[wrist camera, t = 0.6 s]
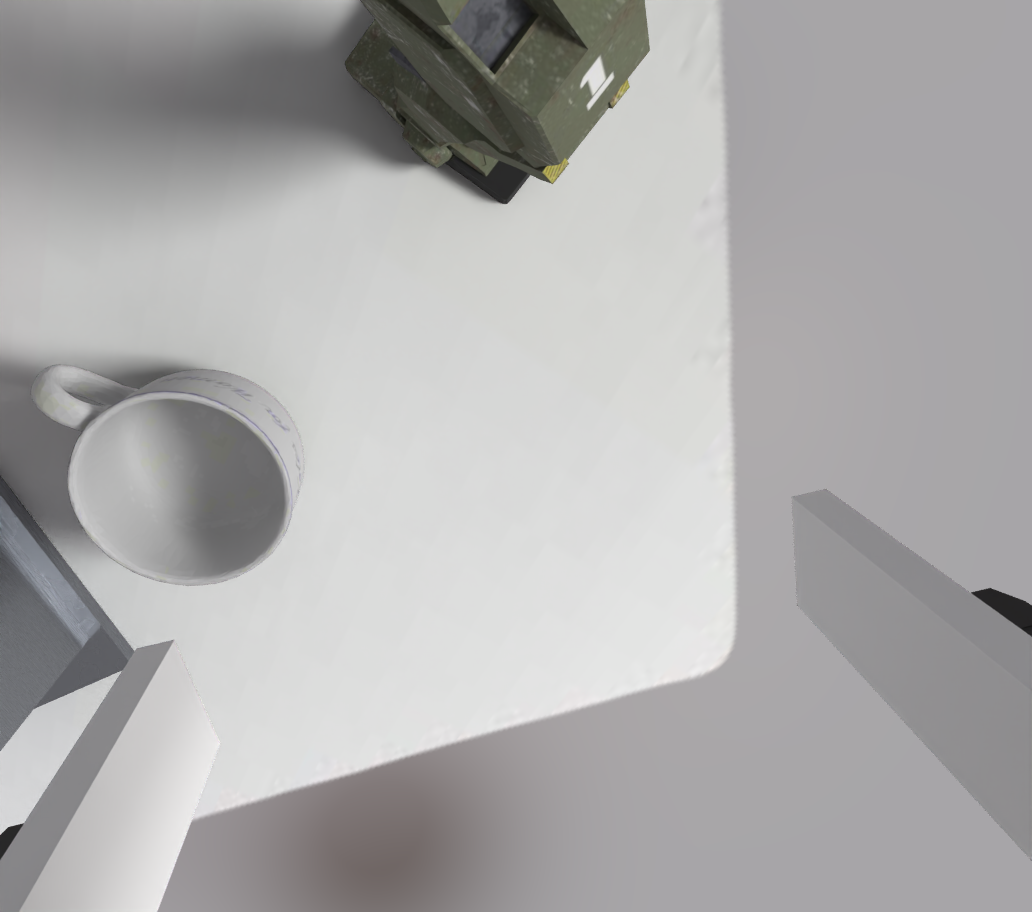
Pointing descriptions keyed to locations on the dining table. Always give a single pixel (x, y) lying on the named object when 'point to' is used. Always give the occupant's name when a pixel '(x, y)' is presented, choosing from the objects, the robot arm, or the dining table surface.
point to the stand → (45, 622)
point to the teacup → (178, 470)
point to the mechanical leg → (499, 79)
